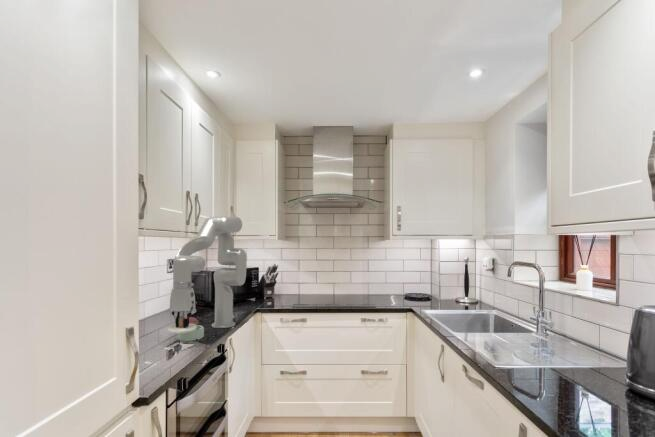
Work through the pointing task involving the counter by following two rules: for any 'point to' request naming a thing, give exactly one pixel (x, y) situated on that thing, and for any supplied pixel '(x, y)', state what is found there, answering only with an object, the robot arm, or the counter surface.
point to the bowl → (192, 334)
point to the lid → (180, 329)
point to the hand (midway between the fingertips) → (182, 326)
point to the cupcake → (193, 320)
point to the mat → (171, 346)
